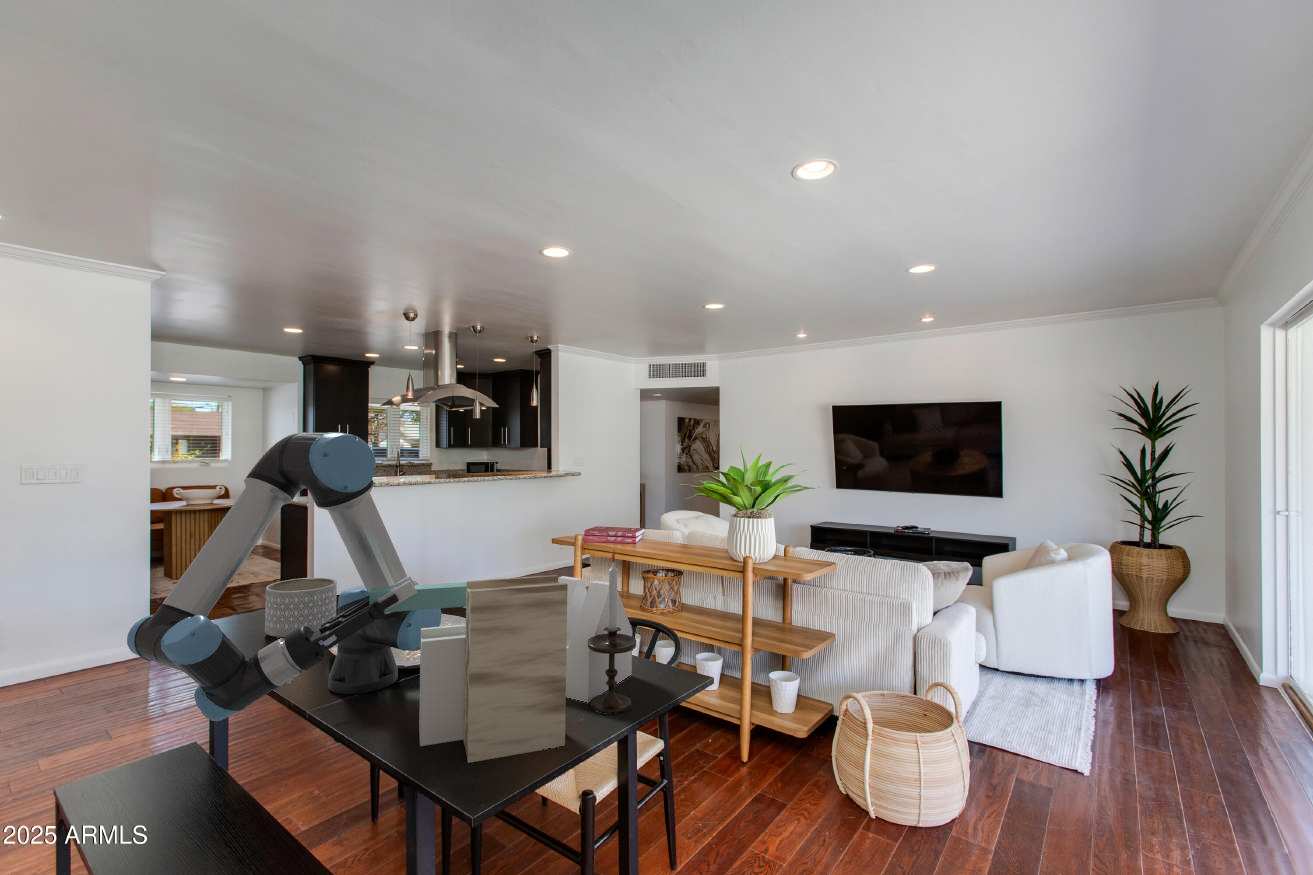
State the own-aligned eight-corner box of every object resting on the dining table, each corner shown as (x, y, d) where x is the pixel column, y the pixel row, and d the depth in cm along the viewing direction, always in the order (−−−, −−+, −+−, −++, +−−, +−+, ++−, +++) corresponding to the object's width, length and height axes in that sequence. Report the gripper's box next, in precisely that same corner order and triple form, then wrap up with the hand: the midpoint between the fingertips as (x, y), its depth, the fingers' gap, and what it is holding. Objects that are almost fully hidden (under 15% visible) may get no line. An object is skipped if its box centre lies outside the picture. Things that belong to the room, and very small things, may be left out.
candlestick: (636, 715, 133) (639, 553, 133) (585, 716, 132) (588, 553, 133) (634, 695, 144) (636, 544, 144) (587, 695, 143) (589, 544, 143)
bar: (370, 608, 121) (370, 587, 121) (524, 597, 132) (525, 578, 132) (369, 613, 117) (369, 592, 117) (528, 601, 128) (528, 582, 128)
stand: (463, 740, 121) (466, 580, 121) (554, 725, 128) (557, 574, 128) (467, 762, 113) (471, 591, 113) (564, 745, 119) (567, 584, 120)
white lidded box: (419, 725, 127) (420, 628, 127) (508, 712, 134) (509, 620, 134) (420, 746, 118) (421, 641, 119) (515, 731, 125) (516, 632, 125)
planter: (284, 646, 174) (285, 594, 174) (252, 633, 184) (253, 585, 184) (348, 629, 190) (349, 582, 190) (315, 619, 200) (316, 575, 200)
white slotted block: (581, 664, 163) (583, 570, 164) (631, 675, 156) (633, 576, 156) (534, 689, 146) (536, 584, 147) (587, 703, 139) (589, 592, 139)
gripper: (311, 656, 123) (422, 590, 130) (297, 687, 107) (424, 610, 115) (290, 624, 121) (403, 560, 129) (273, 651, 106) (403, 576, 113)
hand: (413, 583), depth 122 cm, fingers closed on bar, 4 cm apart
